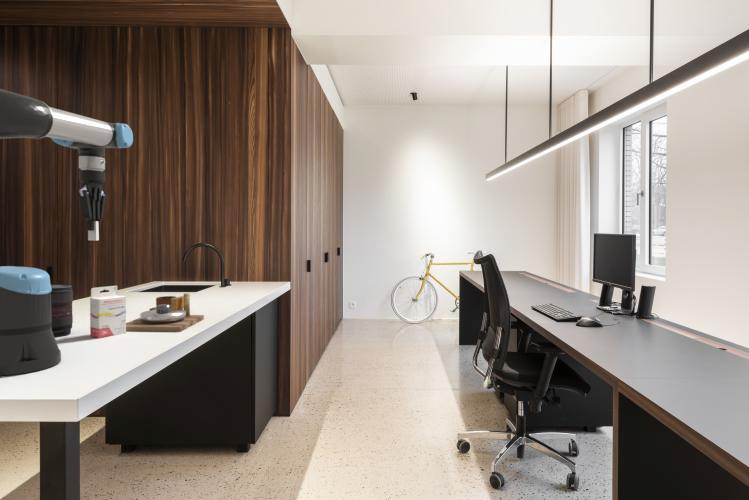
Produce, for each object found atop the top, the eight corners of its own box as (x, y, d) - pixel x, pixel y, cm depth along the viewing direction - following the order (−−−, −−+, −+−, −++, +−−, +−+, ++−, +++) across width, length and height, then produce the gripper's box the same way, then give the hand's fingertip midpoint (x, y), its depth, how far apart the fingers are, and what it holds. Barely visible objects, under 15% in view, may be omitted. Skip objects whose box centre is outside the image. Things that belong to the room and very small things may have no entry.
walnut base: (180, 331, 145) (180, 302, 145) (117, 330, 145) (117, 301, 145) (203, 319, 165) (203, 293, 165) (148, 318, 165) (148, 292, 165)
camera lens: (57, 338, 134) (56, 288, 134) (34, 337, 136) (33, 287, 135) (80, 332, 142) (79, 284, 142) (58, 331, 144) (57, 284, 143)
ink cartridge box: (99, 338, 135) (98, 289, 135) (89, 336, 138) (88, 288, 137) (127, 333, 143) (126, 286, 142) (117, 331, 145) (117, 285, 144)
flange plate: (166, 323, 147) (166, 305, 146) (130, 320, 150) (130, 302, 150) (201, 313, 164) (201, 297, 164) (168, 311, 168) (168, 295, 167)
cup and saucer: (190, 311, 180) (189, 296, 180) (169, 317, 169) (169, 300, 168) (163, 309, 183) (163, 294, 183) (142, 315, 172) (141, 299, 171)
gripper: (91, 168, 147) (92, 241, 148) (114, 172, 160) (115, 240, 161) (68, 167, 147) (69, 240, 148) (93, 172, 160) (94, 239, 161)
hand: (93, 240), depth 155 cm, fingers closed
